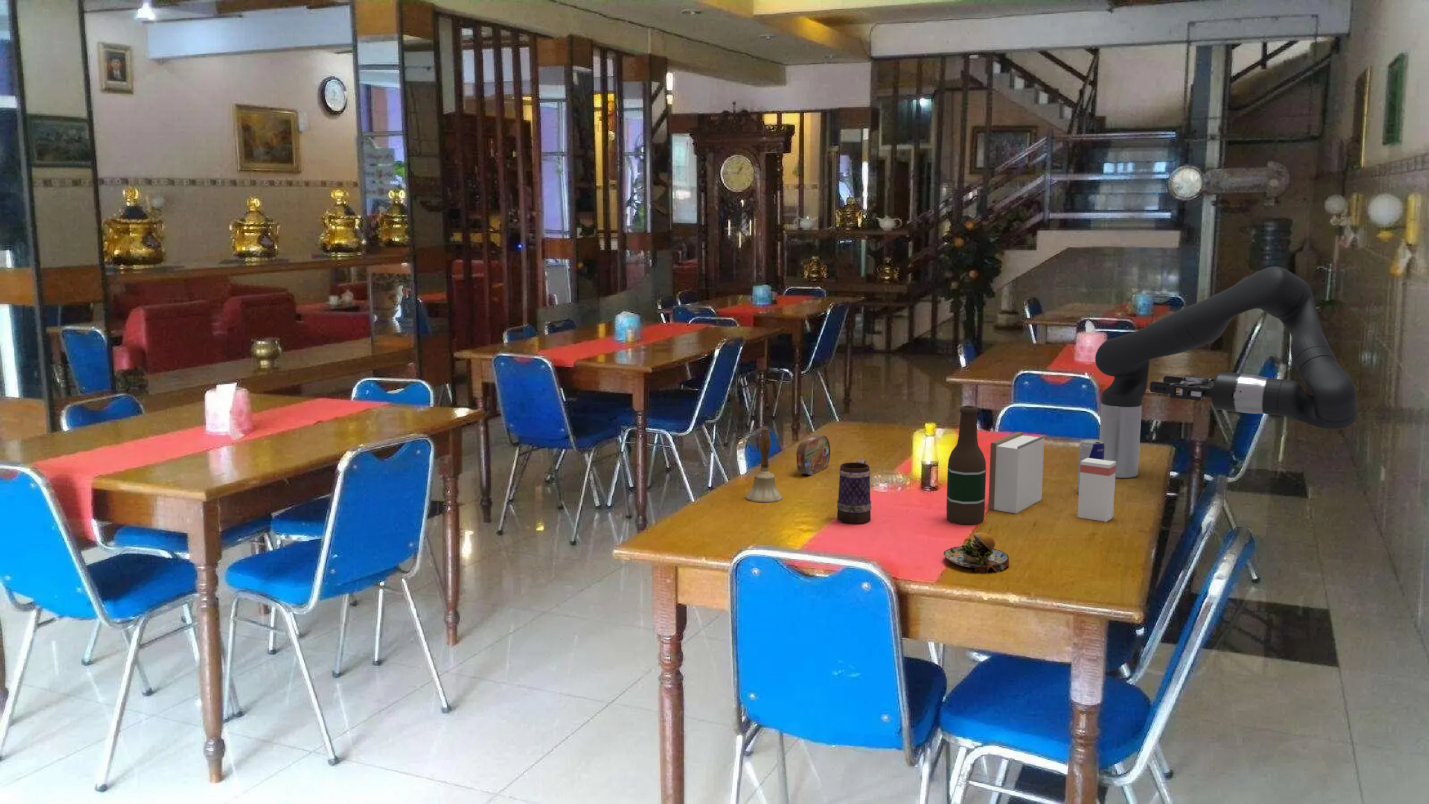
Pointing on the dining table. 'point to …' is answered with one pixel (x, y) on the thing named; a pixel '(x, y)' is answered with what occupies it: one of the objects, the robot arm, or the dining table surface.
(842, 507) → the mug
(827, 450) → the tin
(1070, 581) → the dining table surface
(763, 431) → the hand bell
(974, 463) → the beer bottle
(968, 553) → the burger
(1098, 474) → the white juice carton
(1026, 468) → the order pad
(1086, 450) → the energy drink
